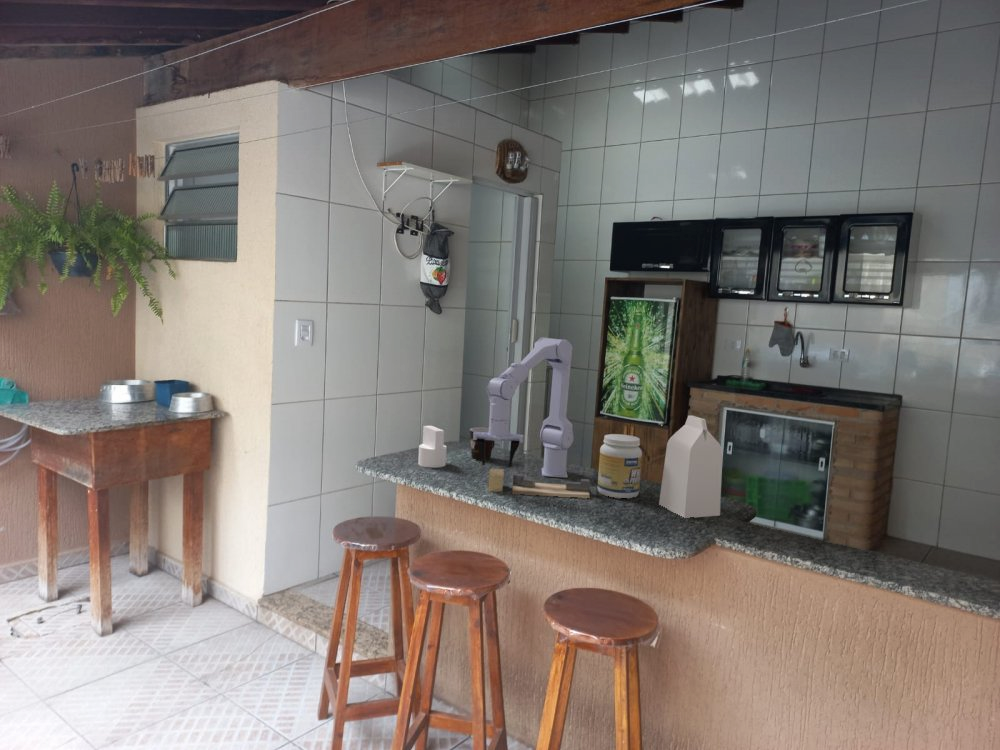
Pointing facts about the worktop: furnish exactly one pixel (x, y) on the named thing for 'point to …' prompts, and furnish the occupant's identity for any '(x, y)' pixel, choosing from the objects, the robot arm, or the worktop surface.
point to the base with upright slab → (432, 448)
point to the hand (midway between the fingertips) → (496, 465)
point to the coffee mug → (474, 447)
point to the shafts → (577, 486)
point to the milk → (692, 471)
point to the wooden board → (549, 490)
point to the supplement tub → (620, 466)
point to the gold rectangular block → (496, 480)
